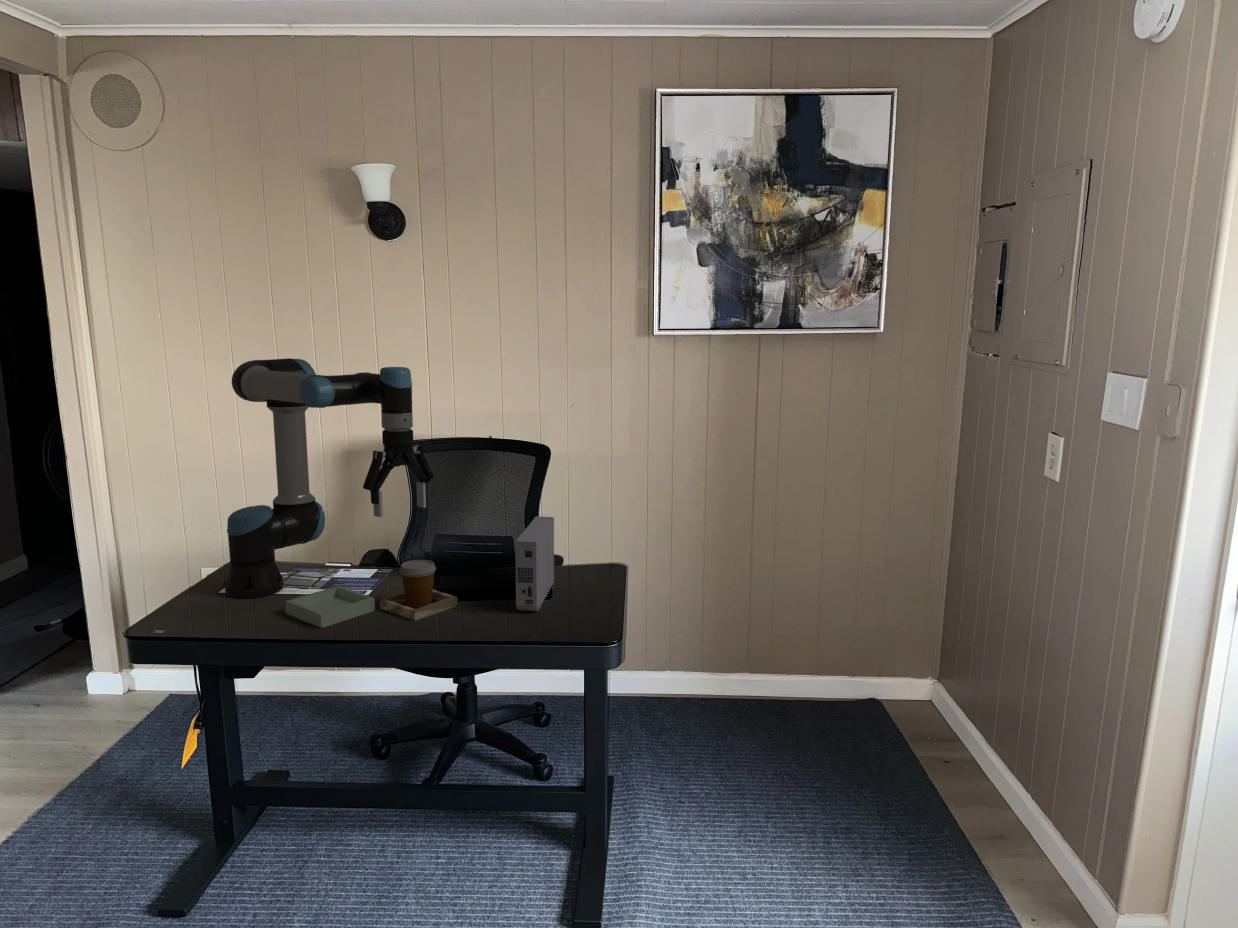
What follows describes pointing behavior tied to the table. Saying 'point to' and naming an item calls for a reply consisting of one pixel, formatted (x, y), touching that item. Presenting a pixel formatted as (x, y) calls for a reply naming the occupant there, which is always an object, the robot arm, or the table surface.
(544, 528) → the game console
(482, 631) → the table surface
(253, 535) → the robot arm
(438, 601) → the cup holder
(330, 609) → the tray
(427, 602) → the disposable coffee cup
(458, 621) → the table surface
